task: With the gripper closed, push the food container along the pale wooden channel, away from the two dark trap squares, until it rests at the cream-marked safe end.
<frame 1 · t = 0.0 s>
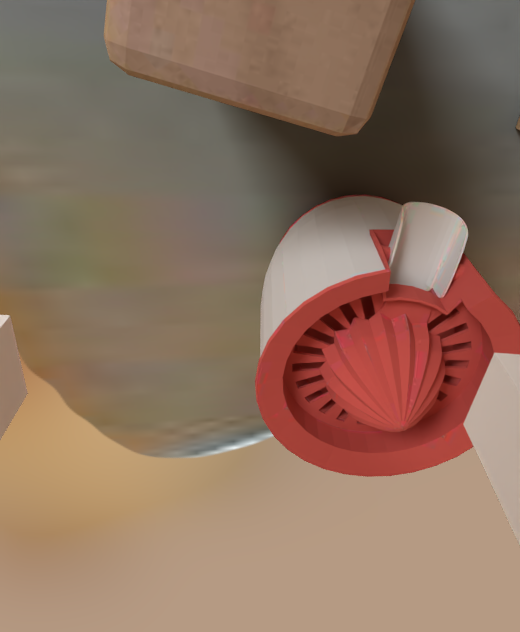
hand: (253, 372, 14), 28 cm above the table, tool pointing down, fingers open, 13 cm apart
citrus juicer: (350, 248, 43), on the table
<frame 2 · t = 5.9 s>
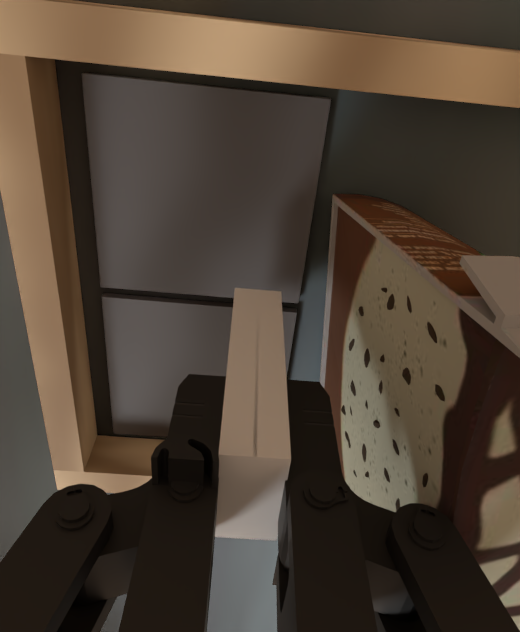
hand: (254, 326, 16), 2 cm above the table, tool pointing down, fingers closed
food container: (404, 312, 18), on the table, touching hand
trap channel: (457, 316, 18), on the table
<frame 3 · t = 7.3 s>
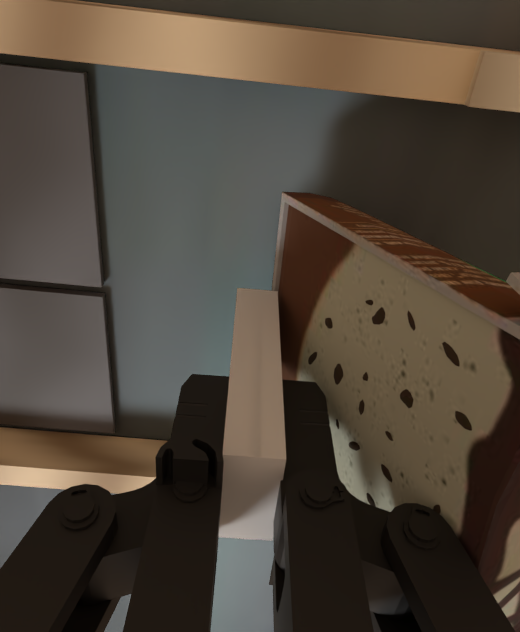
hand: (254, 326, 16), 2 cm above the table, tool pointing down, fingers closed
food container: (345, 315, 18), on the table, touching gripper, hand
trap channel: (271, 303, 18), on the table
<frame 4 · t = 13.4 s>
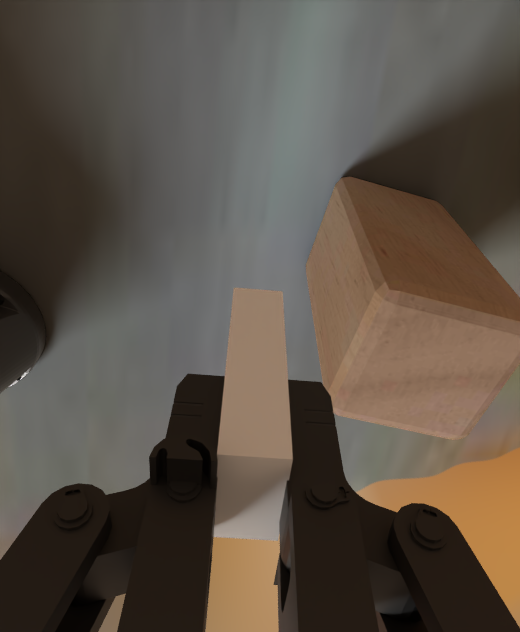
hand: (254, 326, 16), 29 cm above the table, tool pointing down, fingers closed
block: (369, 235, 46), on the table
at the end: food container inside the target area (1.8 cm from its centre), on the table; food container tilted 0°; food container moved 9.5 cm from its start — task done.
